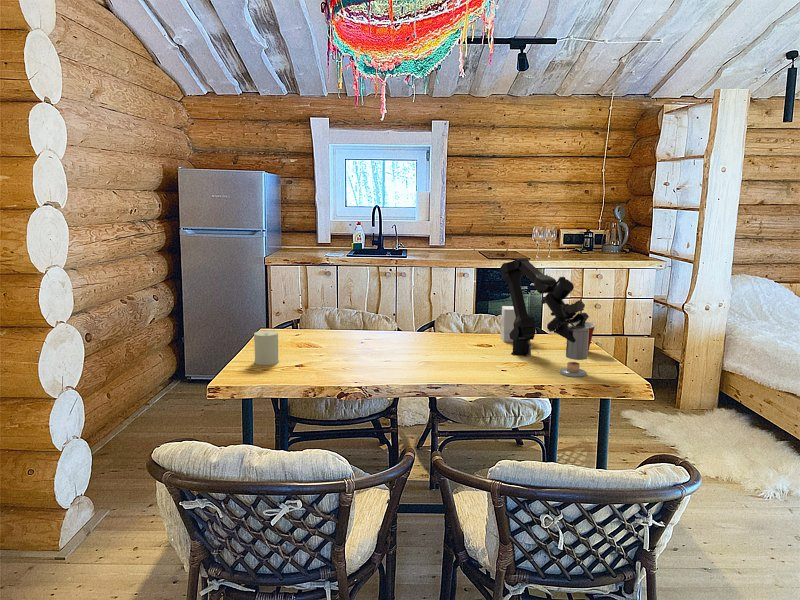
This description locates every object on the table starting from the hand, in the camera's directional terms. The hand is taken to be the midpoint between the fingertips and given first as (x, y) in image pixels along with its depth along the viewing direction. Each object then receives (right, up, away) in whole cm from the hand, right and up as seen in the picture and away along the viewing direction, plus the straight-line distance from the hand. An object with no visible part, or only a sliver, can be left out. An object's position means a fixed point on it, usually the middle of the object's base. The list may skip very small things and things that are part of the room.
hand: (580, 340), depth 234 cm
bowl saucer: (-2, -12, +2) cm, 13 cm away
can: (-118, -9, +12) cm, 119 cm away
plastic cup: (+10, -7, +35) cm, 37 cm away
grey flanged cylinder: (-1, -6, +2) cm, 7 cm away
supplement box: (-16, -3, +54) cm, 57 cm away
